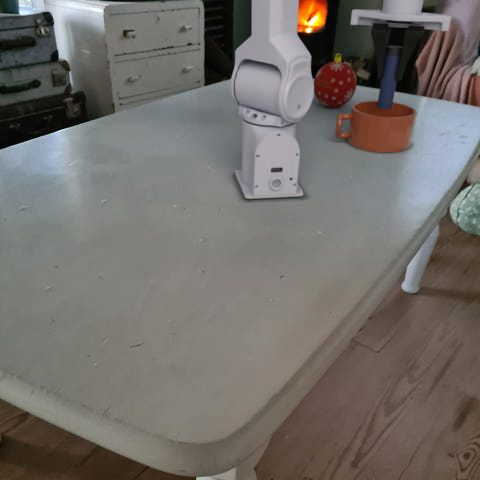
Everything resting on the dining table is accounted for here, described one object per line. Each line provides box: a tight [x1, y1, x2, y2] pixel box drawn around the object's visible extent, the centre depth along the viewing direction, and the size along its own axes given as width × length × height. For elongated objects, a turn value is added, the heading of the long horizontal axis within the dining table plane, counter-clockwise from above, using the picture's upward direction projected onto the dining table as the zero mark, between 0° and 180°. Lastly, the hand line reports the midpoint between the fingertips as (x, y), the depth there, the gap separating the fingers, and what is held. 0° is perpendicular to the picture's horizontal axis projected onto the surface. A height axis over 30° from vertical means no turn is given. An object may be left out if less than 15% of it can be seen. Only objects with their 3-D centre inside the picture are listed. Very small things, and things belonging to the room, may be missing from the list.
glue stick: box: [377, 45, 403, 109], centre depth 83 cm, size 2×2×9 cm
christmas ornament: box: [313, 53, 357, 109], centre depth 104 cm, size 9×9×10 cm
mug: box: [334, 100, 418, 153], centre depth 87 cm, size 13×10×6 cm
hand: (389, 78), depth 83 cm, fingers closed on glue stick, 2 cm apart
